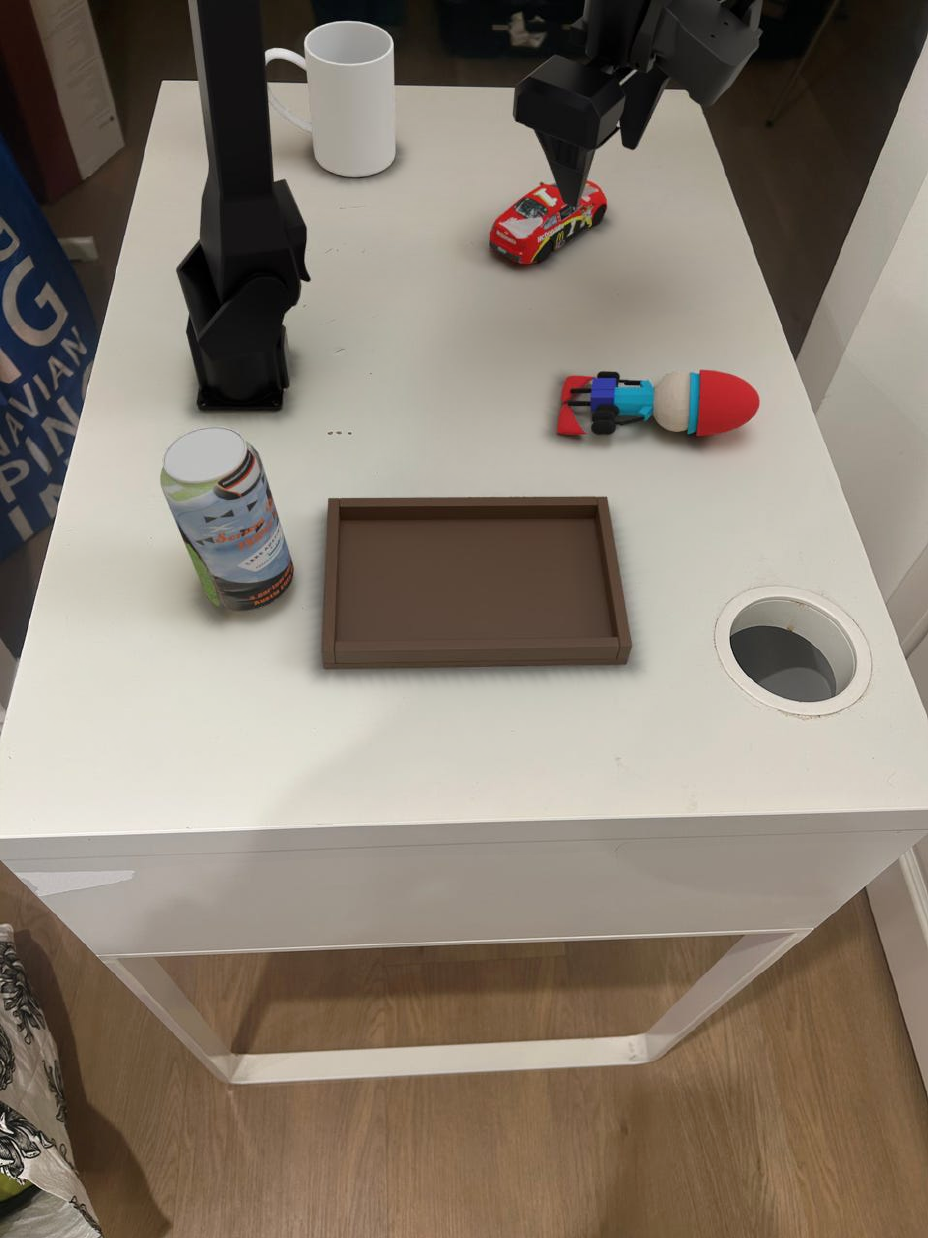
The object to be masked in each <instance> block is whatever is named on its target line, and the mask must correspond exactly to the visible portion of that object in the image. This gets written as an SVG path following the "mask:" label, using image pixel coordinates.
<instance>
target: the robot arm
mask: <svg viewBox="0 0 928 1238" xmlns="http://www.w3.org/2000/svg"><path fill="white" fill-rule="evenodd" d="M763 1H764V0H584V8H583V14H582V16H581V17H580V18H578V19H577V20H576V21H575V22H573V23H572V24H570V25H569V32H568V33H569V34H568V43H569V44H573V45H575V46H578V47H581V48H584V49H585V51H584V52H585V53H584V54H585V55H586V56H588V57H589V58H590V59H591V60H590V61H588V62H587V63H586V64H583V63H579V62H577V61H574V60H571V59H568V58H567V57H563V56H560V55H557V54H554V55H552V56H550V58H549V59H547V60H546V61H544V62H543V63H542V64H541V65H539V66H538V67H537V68H536V69H534V70H533V71H532V72H531V73H530V74H528V75H527V76H526V77H524V78H523V79H522V80H521V81H519V82H518V83H517V84H516V85H514V91H513V103H512V104H513V105H512V117H513V120H514V121H515V123H518V124H520V125H524V126H525V127H526V128H529V129H531V130H533V132H534V134H535V136H536V138H537V140H538V142H539V145H540V147H541V148H542V151H543V153H544V156H545V158H546V161H547V163H548V165H549V168H550V171H551V174H552V177H553V180H554V183H555V182H556V185H557V187H558V190H559V193H560V195H561V198H562V201H563V203H564V204H566V205H569V206H571V207H576V206H577V205H578V204H579V202H580V199H581V196H582V193H583V191H584V188H585V184H586V181H587V180H588V177H589V175H590V172H591V171H590V170H591V167H592V164H593V161H594V157H595V154H596V151H597V150H598V149H601V148H602V147H603V146H604V145H605V144H606V143H607V142H609V140H610V139H612V137H614V136H615V135H616V134H617V133H618V132H619V133H620V140H621V146H622V147H623V148H625V149H628V150H631V151H634V150H636V149H637V148H638V146H639V144H640V142H641V140H642V138H643V135H644V134H645V131H646V129H647V127H648V125H649V123H650V121H651V119H652V117H653V114H654V113H655V110H656V108H657V106H658V104H659V102H660V100H661V98H662V96H663V93H664V91H665V90H666V87H667V85H668V83H669V81H670V80H671V79H672V80H673V81H674V82H675V83H676V84H678V85H679V86H680V87H681V88H683V90H685V91H686V92H687V93H688V96H689V98H690V99H691V100H692V101H693V102H694V103H696V104H697V105H700V106H702V107H711V106H713V105H714V104H715V103H716V102H717V100H719V98H720V97H721V96H722V95H723V94H724V93H725V92H726V91H727V90H728V89H730V88H731V86H732V85H733V84H734V82H735V81H736V79H737V77H738V76H739V74H740V73H741V72H742V70H743V69H744V67H745V66H746V64H747V63H748V61H749V60H750V58H751V57H752V55H753V54H754V53H755V52H756V51H757V50H758V48H759V46H760V37H761V36H762V34H763V32H764V31H763V30H762V29H761V28H760V27H759V25H760V19H761V15H762V14H761V13H762V8H763ZM187 2H188V9H189V10H188V11H189V18H190V27H191V34H192V43H193V50H194V59H195V66H196V74H197V75H196V76H197V83H198V90H199V99H200V106H201V113H202V122H203V130H204V137H205V144H206V145H205V146H206V153H207V160H208V161H207V162H208V169H207V170H208V171H207V176H206V180H205V184H204V187H203V191H202V194H201V204H200V220H199V221H200V222H199V239H198V240H197V241H196V243H195V244H194V245H193V246H192V248H191V249H190V250H189V251H188V252H187V254H186V255H185V256H184V257H183V259H182V260H181V261H180V262H179V264H178V265H177V267H176V268H175V272H176V275H177V278H178V282H179V285H180V289H181V292H182V295H183V298H184V301H185V304H186V308H187V312H188V318H187V322H186V323H187V324H186V329H185V333H186V337H187V342H188V346H189V350H190V354H191V359H192V362H193V367H194V371H195V375H196V379H197V383H198V390H197V397H196V407H197V409H198V410H199V411H200V412H280V411H281V410H283V408H284V401H285V389H289V388H290V385H291V376H292V375H291V373H292V362H291V354H290V345H289V339H288V332H287V331H288V330H287V326H285V324H283V323H284V320H285V318H286V317H285V316H286V314H287V313H288V312H289V311H290V310H291V309H292V308H293V307H296V306H297V305H298V303H299V301H300V298H301V294H302V287H303V286H302V281H303V282H305V283H310V282H311V281H312V278H311V276H310V273H309V270H308V269H307V266H306V259H305V257H306V248H307V243H308V227H307V225H306V222H305V220H304V217H303V216H302V213H301V211H300V208H299V206H298V204H297V202H296V199H295V197H294V194H293V192H292V190H291V188H290V186H289V183H288V181H287V179H286V178H282V179H279V180H275V175H274V161H273V147H272V145H273V144H272V133H271V132H272V131H271V130H272V129H271V119H270V118H271V117H270V103H269V102H268V87H267V82H268V75H267V65H266V59H265V52H266V46H265V33H264V19H263V18H264V17H263V4H262V2H263V1H262V0H187ZM618 123H619V124H618ZM618 125H619V126H618Z"/></svg>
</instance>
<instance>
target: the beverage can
mask: <svg viewBox="0 0 928 1238" xmlns="http://www.w3.org/2000/svg"><path fill="white" fill-rule="evenodd" d="M160 471H161V472H160V476H159V477H160V478H159V482H160V483H159V484H160V488H161V490H162V493H163V495H164V498H165V500H166V502H167V505H168V508H169V510H170V512H171V515H172V517H173V519H174V522H175V524H176V526H177V530H178V531H179V533H180V534H179V535H180V536H181V538H182V542H183V543H184V545H185V548H186V550H187V553H188V555H189V558H190V560H191V562H192V566H193V567H194V569H195V572H196V574H197V577H198V579H199V581H200V584H201V587H202V588H203V591H204V593H205V595H206V597H207V598H208V601H210V602H211V603H212V604H213V605H215V606H216V607H218V608H221V609H224V610H226V611H232V612H248V611H253V610H258V609H260V608H263V607H266V606H268V605H270V604H271V603H274V602H275V601H276V600H278V599H279V598H280V597H282V596H283V594H284V593H285V592H286V591H287V590H288V589H289V587H290V585H291V584H292V581H293V578H294V572H295V569H294V568H295V567H294V563H293V562H294V561H293V560H292V556H291V553H290V550H289V546H288V544H287V539H286V537H285V533H284V530H283V527H282V523H281V521H280V520H281V519H280V517H279V513H278V510H277V506H276V504H275V500H274V497H273V493H272V491H271V487H270V483H269V481H268V477H267V474H266V470H265V467H264V463H263V460H262V458H261V456H260V453H259V452H258V450H257V449H256V448H255V447H254V446H253V444H251V443H250V442H248V441H247V440H246V439H245V438H244V436H243V435H242V434H241V433H240V432H238V431H237V430H235V429H233V428H229V427H226V426H218V425H217V426H216V425H209V426H203V427H198V428H195V429H192V430H190V431H187V432H185V433H183V434H181V435H180V436H178V437H177V438H176V439H174V440H173V441H172V442H171V443H170V444H169V445H168V446H167V448H166V449H165V451H164V453H163V456H162V468H161V470H160Z"/></svg>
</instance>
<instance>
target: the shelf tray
mask: <svg viewBox="0 0 928 1238" xmlns="http://www.w3.org/2000/svg"><path fill="white" fill-rule="evenodd" d="M325 539H326V540H325V558H324V561H325V563H324V580H323V581H324V582H323V583H324V585H323V586H324V587H323V603H322V605H323V606H322V626H321V627H322V629H321V649H320V650H321V658H322V664H323V669H324V670H325V669H326V670H327V669H328V670H329V669H330V670H331V669H333V670H334V669H385V668H388V669H389V668H391V669H392V668H442V667H445V668H448V667H450V668H452V667H453V668H454V667H456V668H457V667H511V666H567V665H569V666H571V665H575V666H577V665H579V666H580V665H625V664H626V665H627V663H628V662H629V661H628V660H629V657H630V654H631V652H632V649H633V641H632V637H631V636H632V635H631V630H630V625H629V618H628V611H627V607H626V600H625V594H624V589H623V583H622V577H621V569H620V565H619V559H618V558H619V557H618V553H617V547H616V539H615V534H614V529H613V523H612V517H611V511H610V505H609V499H608V496H595V495H594V496H593V495H592V496H591V495H590V496H588V495H587V496H586V495H585V496H583V495H582V496H460V497H459V496H446V497H445V496H442V497H439V496H435V497H433V496H431V497H430V496H429V497H425V496H423V497H421V496H419V497H418V496H417V497H414V496H413V497H328V498H327V515H326V537H325Z"/></svg>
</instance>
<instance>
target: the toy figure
mask: <svg viewBox="0 0 928 1238" xmlns="http://www.w3.org/2000/svg"><path fill="white" fill-rule="evenodd" d="M698 372H699V373H697V372H693V371H691V372H688V371H684V370H677V371H672V372H670V373H669V372H668V373H666V375H664V376H663V377H661V378H660V379H659V380H658V382H657V383H656V385H655V386H653V385H652V383H651V382H650V380H649V379H646V380H639V379H637V380H636V379H621V375H620V373H619V372H617V371H609V370H608V371H606V370H601V371H599V372H598V373H597V375H596V376H591V375H590V376H589V375H575V374H574V375H568V376H566V378H565V379H564V383H563V385H562V388H561V395H560V396H561V403H563V405H562V406H561V408H560V411H559V414H558V418H557V419H558V420H557V427H556V433H557V434H560V435H565V436H566V435H567V436H576V435H577V436H580V435H581V436H582V435H587V432H586V431H584V429H582V427H581V425H580V423H579V422H578V420H577V418H576V416H575V414H574V412H573V410H572V408H571V407H590V413H592V415H591V422H592V423H591V427H590V429H591V432H592V434H594V435H596V436H610V435H612V434H614V433H615V431H616V428H617V427H616V426H620V427H623V426H626V425H631V424H634V423H639V422H647V420H648V419H649V418H650V417H651V416H653V417H654V419H655V421H656V423H658V425H659V426H661V427H662V428H664V429H665V430H667V431H670V432H677V433H679V432H684V431H687V435H692V434H694V433H695V436H696V437H707V436H715V435H719V434H724V433H728V432H730V431H733V430H736V429H738V428H740V427H742V426H744V425H745V424H748V422H749V421H750V420H752V418H753V417H755V416H756V414H757V412H758V410H759V408H760V405H761V404H760V401H761V399H760V396H759V394H758V391H757V389H755V387H754V386H752V384H750V383H749V382H748V381H747V380H745V379H743V378H741V377H739V376H737V375H735V374H731V373H729V372H723V371H719V370H715V369H714V370H713V369H699V371H698ZM590 382H591V387H585V386H587V384H589V383H590ZM620 384H623V385H624V386H619V385H620ZM584 387H585V388H584ZM577 394H590V400H571V399H572V398H573V397H574V396H575V395H577ZM619 416H637V417H632V418H630V419H625V420H616V419H617V418H618V417H619Z"/></svg>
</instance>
